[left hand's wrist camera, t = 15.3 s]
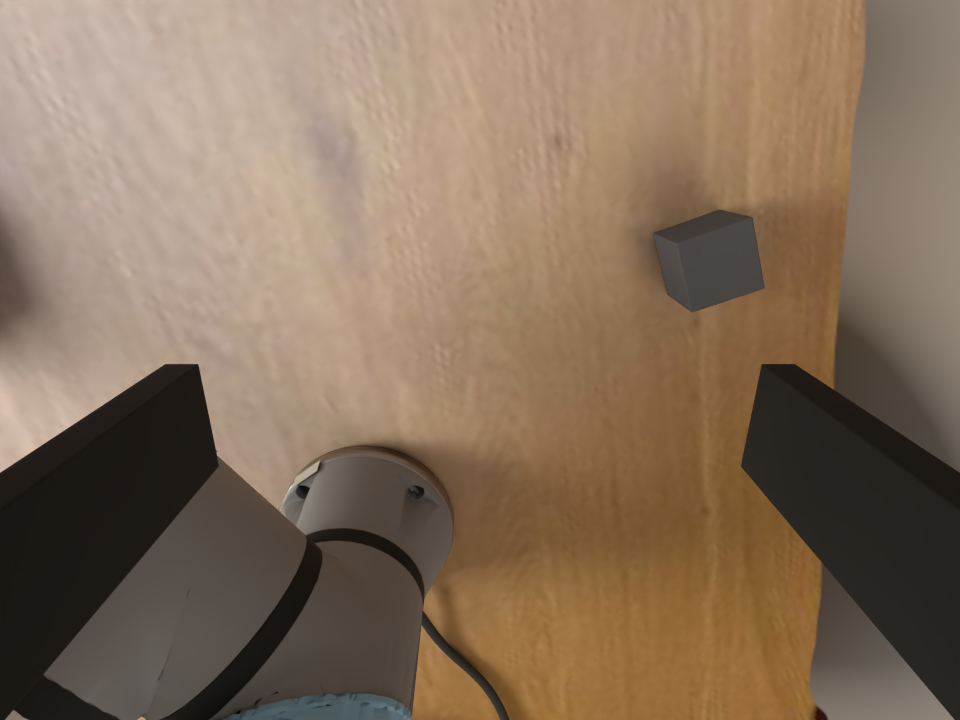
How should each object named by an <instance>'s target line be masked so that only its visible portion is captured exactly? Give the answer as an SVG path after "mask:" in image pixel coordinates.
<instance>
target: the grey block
mask: <svg viewBox="0 0 960 720" xmlns="http://www.w3.org/2000/svg"><path fill="white" fill-rule="evenodd" d="M653 235H654V240H655V244H656V248H657V252H658V256H659V260H660V264H661V268H662V273H663V277H664V281H665V285H666V289H667V293H668V295H669V296H670V297H672V298H673V299H674V300H676V301H677V302H678V303H680V304H681V305H683V306H684V307H685V308H687V309H688V310H689V311H691V312H695V311H698V310H701V309H704V308H707V307H710V306H713V305H716V304H719V303H722V302H725V301H728V300H731V299H734V298H737V297H740V296H743V295H746V294H749V293H752V292H755V291H758V290H761V289H764V282H763V276H762V270H761V265H760V259H759V253H758V247H757V242H756V236H755V230H754V225H753V219H752V217H750V216H745V215H741V214H736V213H731V212H727V211H722V210H717V211H715V212H712V213H709V214H706V215H703V216H701V217H698V218H695V219H692V220H689V221H687V222H684V223H681V224H678V225H675V226H673V227H670V228H667V229H664V230H661V231H658V232H656V233H654V234H653Z"/></svg>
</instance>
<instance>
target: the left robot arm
mask: <svg viewBox="0 0 960 720" xmlns="http://www.w3.org/2000/svg"><path fill="white" fill-rule="evenodd" d="M216 453H217V450H216V449H215V444H214V439H213V434H212V429H211V424H210V419H209V415H208V410H207V405H206V400H205V395H204V390H203V385H202V380H201V376H200V371H199V366H198V364H165V365H163V366H162V367H160V368H159V369H157V370H156V371H154V372H153V373H151V374H150V375H148V376H147V377H145V378H144V379H142V380H141V381H139V382H138V383H136V384H135V385H133V386H132V387H130V388H128V389H127V390H125V391H124V392H122V393H121V394H119V395H118V396H116V397H115V398H113V399H112V400H110V401H109V402H107V403H106V404H104V405H103V406H101V407H100V408H98V409H97V410H95V411H94V412H92V413H90V414H89V415H87V416H86V417H84V418H83V419H81V420H80V421H78V422H77V423H75V424H74V425H72V426H71V427H69V428H68V429H66V430H65V431H63V432H62V433H60V434H59V435H57V436H56V437H54V438H52V439H51V440H49V441H48V442H46V443H45V444H43V445H42V446H40V447H39V448H37V449H36V450H34V451H33V452H31V453H30V454H28V455H27V456H25V457H24V458H22V459H21V460H19V461H18V462H16V463H14V464H13V465H11V466H10V467H8V468H7V469H5V470H4V471H2V472H1V473H0V720H137V719H138V718H140V717H141V716H142V717H144V718H145V719H146V720H412V709H413V700H414V690H415V680H416V671H417V661H418V652H419V642H420V632H421V625H422V626H423V627H424V629H425V630H426V632H427V633H428V634H429V636H430V637H431V638H432V640H433V641H434V642H435V643H436V644H437V645H438V646H439V648H440V649H441V650H442V651H443V652H444V653H445V654H446V655H447V656H448V657H450V658H451V659H452V660H453V661H454V662H455V663H456V664H457V665H459V666H460V667H461V668H462V669H463V670H464V671H466V672H467V673H468V674H469V675H470V676H471V677H472V678H473V679H474V680H475V681H476V682H477V683H478V684H479V685H480V686H481V688H482V689H483V690H484V691H485V693H486V694H487V695H488V697H489V698H490V700H491V701H492V703H493V705H494V707H495V708H496V710H497V712H498V715H499V717H500V719H501V720H509V717H508V715H507V712H506V710H505V708H504V706H503V704H502V702H501V700H500V698H499V697H498V695H497V694H496V692H495V691H494V689H493V688H492V686H491V685H490V684H489V683H488V681H487V680H486V679H485V678H484V677H483V676H482V675H481V674H480V673H479V672H478V671H477V670H476V669H475V668H474V667H473V666H472V665H471V664H470V663H468V662H467V661H466V660H465V659H464V658H463V657H462V656H460V655H459V654H458V653H457V652H456V651H455V650H454V649H453V648H452V647H451V646H450V645H449V644H448V643H447V642H446V641H445V640H444V639H443V637H442V636H441V635H440V634H439V632H438V631H437V630H436V628H435V627H434V626H433V624H432V623H431V621H430V620H429V619H428V617H427V616H426V614H425V613H424V612H423V605H424V598H425V596H426V594H427V593H428V591H429V589H430V587H431V586H432V584H433V582H434V581H435V579H436V577H437V575H438V574H439V572H440V570H441V568H442V567H443V565H444V563H445V561H446V559H447V557H448V554H449V552H450V549H451V545H452V540H453V527H454V515H453V509H452V505H451V501H450V499H449V496H448V494H447V492H446V490H445V489H444V487H443V485H442V484H441V483H440V481H439V480H438V479H437V478H436V477H435V475H434V474H433V473H432V472H430V471H429V470H428V469H427V468H426V467H424V466H423V465H422V464H420V463H419V462H417V461H416V460H414V459H412V458H410V457H408V456H406V455H404V454H401V453H399V452H396V451H393V450H390V449H385V448H380V447H372V446H355V447H347V448H342V449H338V450H335V451H332V452H329V453H327V454H324V455H322V456H320V457H319V458H317V459H315V460H314V461H312V462H311V463H309V464H308V465H307V466H306V467H305V468H304V469H303V470H302V471H301V472H300V473H299V474H298V476H296V478H295V480H294V481H293V483H292V485H291V487H290V488H289V490H288V492H287V494H286V496H285V498H284V500H283V502H282V506H281V509H280V512H279V511H278V510H277V509H276V508H275V507H274V506H273V505H272V504H270V503H269V502H268V501H267V500H266V499H265V498H264V497H263V496H262V495H260V494H259V493H258V492H257V491H256V490H255V489H254V488H253V487H252V486H250V485H249V484H248V483H247V482H246V481H245V480H244V479H243V478H242V477H240V476H239V475H238V474H237V473H236V472H235V471H234V470H233V469H231V468H230V467H229V466H228V465H227V464H226V463H225V462H224V461H223V460H221V459H220V458H219V457H218V456H217V454H216ZM741 467H742V468H743V469H744V471H745V472H746V473H747V474H748V475H749V476H750V478H751V479H752V480H753V481H754V482H755V484H756V485H757V486H758V487H759V488H760V489H761V491H762V492H763V493H764V494H765V495H766V497H767V498H768V499H769V500H770V501H771V503H772V504H773V505H774V506H775V507H776V508H777V510H778V511H779V512H780V513H781V514H782V516H783V517H784V518H785V519H786V520H787V521H788V523H789V524H790V525H791V526H792V527H793V529H794V530H795V531H796V532H797V533H798V535H799V536H800V537H801V538H802V539H803V540H804V542H805V543H806V544H807V545H808V546H809V548H810V549H811V550H812V551H813V552H814V553H815V555H816V556H817V557H818V558H819V559H820V561H821V562H822V563H823V564H824V565H825V567H826V568H827V569H828V570H829V571H830V572H831V574H832V575H833V576H834V577H835V578H836V579H837V581H838V582H839V583H840V584H841V585H842V587H843V588H844V589H845V590H846V591H847V593H848V594H849V595H850V596H851V597H852V598H853V600H854V601H855V602H856V603H857V604H858V606H859V607H860V608H861V609H862V610H863V612H864V613H865V614H866V615H867V616H868V617H869V619H870V620H871V621H872V622H873V623H874V625H875V626H876V627H877V628H878V629H879V630H880V632H881V633H882V634H883V635H884V636H885V638H886V639H887V640H888V641H889V642H890V644H891V645H892V646H893V647H894V648H895V649H896V651H897V652H898V653H899V654H900V655H901V657H902V658H903V659H904V660H905V661H906V662H907V664H908V665H909V666H910V667H911V668H912V670H913V671H914V672H915V673H916V674H917V675H918V677H919V678H920V679H921V680H922V681H923V683H924V684H925V685H926V686H927V687H928V689H929V690H930V691H931V692H932V693H933V694H934V696H935V697H936V698H937V699H938V700H939V702H940V703H941V704H942V705H943V706H944V707H945V709H946V710H947V711H948V712H949V713H950V715H951V716H952V717H953V718H954V719H955V720H960V473H959V472H958V471H956V470H955V469H953V468H952V467H950V466H949V465H947V464H946V463H944V462H942V461H941V460H939V459H938V458H936V457H935V456H933V455H932V454H930V453H929V452H927V451H926V450H924V449H923V448H921V447H920V446H918V445H917V444H915V443H914V442H912V441H911V440H909V439H908V438H906V437H904V436H903V435H901V434H900V433H898V432H897V431H895V430H894V429H892V428H891V427H889V426H888V425H886V424H885V423H883V422H882V421H880V420H879V419H877V418H876V417H874V416H873V415H871V414H870V413H868V412H866V411H865V410H863V409H862V408H860V407H859V406H857V405H856V404H854V403H853V402H851V401H850V400H848V399H847V398H845V397H844V396H842V395H841V394H839V393H838V392H836V391H835V390H833V389H832V388H830V387H828V386H827V385H825V384H824V383H822V382H821V381H819V380H818V379H816V378H815V377H813V376H812V375H810V374H809V373H807V372H806V371H804V370H803V369H801V368H800V367H798V366H797V365H795V364H762V366H761V371H760V376H759V380H758V385H757V390H756V395H755V400H754V405H753V410H752V415H751V419H750V424H749V429H748V434H747V439H746V444H745V449H744V454H743V459H742V463H741Z"/></svg>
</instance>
